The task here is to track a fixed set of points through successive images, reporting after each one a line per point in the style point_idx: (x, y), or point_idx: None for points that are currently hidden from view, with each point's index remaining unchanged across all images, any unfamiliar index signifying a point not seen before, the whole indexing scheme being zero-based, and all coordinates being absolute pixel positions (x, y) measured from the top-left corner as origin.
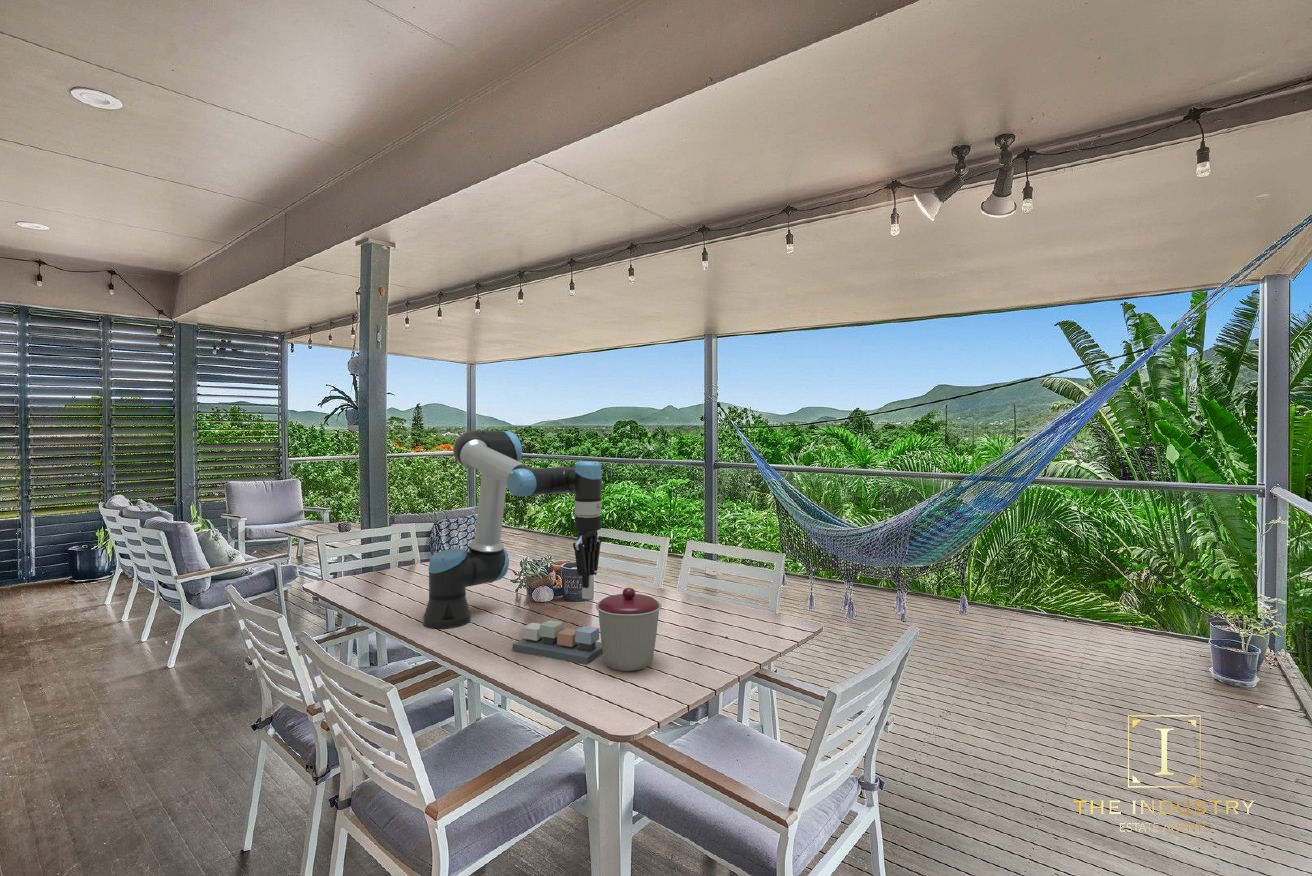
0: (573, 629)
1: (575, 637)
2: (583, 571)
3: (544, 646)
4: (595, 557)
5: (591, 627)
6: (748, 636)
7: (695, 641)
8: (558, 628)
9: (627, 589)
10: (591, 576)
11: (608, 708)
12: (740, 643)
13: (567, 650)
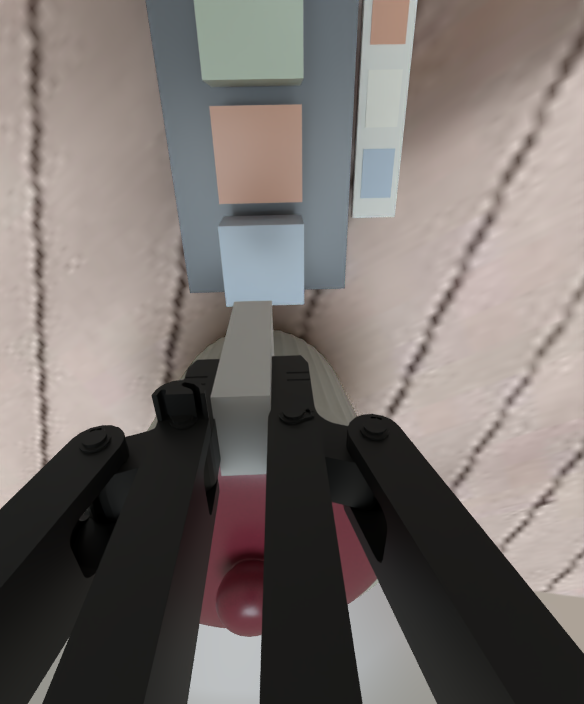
0: (296, 157)
1: (221, 221)
2: (73, 531)
3: (190, 41)
4: (418, 637)
5: (294, 270)
6: (558, 534)
7: (495, 458)
8: (248, 82)
9: (228, 628)
10: (239, 472)
11: (16, 451)
12: (503, 534)
13: (207, 182)
